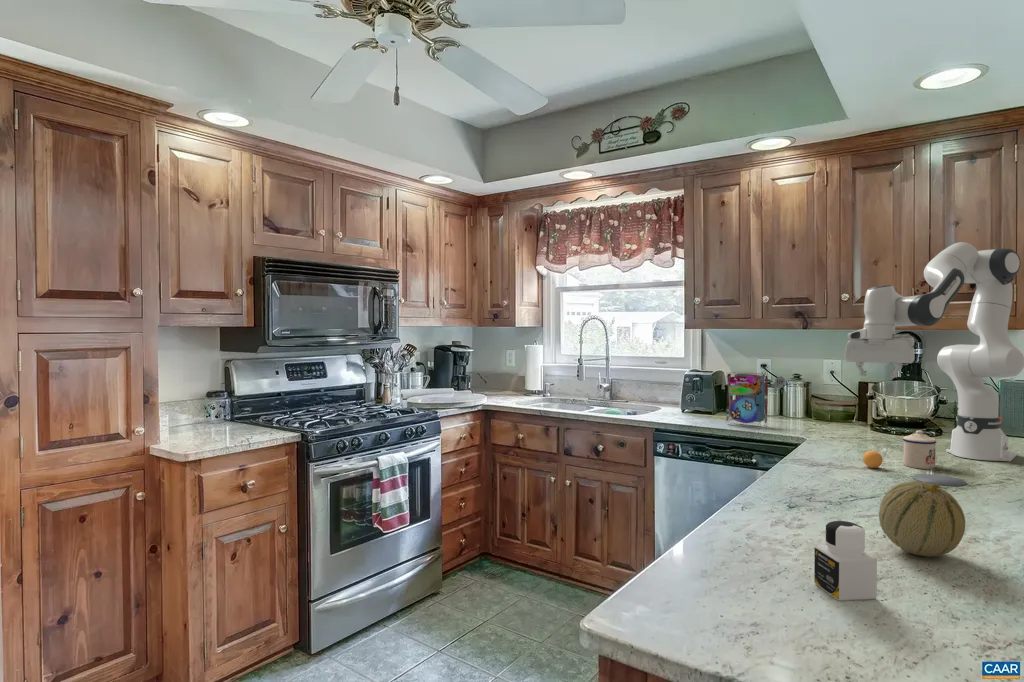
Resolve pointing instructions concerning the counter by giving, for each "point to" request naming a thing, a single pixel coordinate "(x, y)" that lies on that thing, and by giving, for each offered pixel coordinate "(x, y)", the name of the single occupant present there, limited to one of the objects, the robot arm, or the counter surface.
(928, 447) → the teacup with lid
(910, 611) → the counter surface
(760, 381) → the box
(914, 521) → the cantaloupe
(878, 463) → the ball
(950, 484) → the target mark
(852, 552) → the medicine bottle
